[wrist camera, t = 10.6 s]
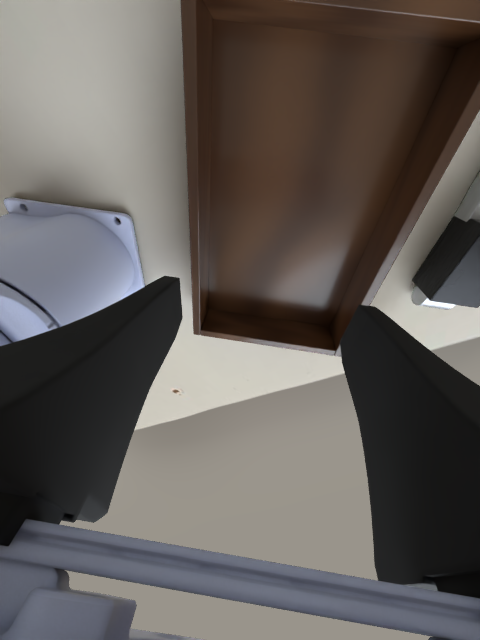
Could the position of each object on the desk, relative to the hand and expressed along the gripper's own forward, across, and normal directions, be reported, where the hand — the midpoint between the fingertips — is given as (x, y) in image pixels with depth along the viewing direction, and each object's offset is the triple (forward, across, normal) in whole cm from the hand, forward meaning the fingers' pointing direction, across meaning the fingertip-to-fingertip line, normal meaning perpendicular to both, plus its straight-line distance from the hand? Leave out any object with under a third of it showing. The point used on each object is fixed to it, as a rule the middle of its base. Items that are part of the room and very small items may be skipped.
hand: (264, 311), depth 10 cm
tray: (+9, -1, -1) cm, 10 cm away
